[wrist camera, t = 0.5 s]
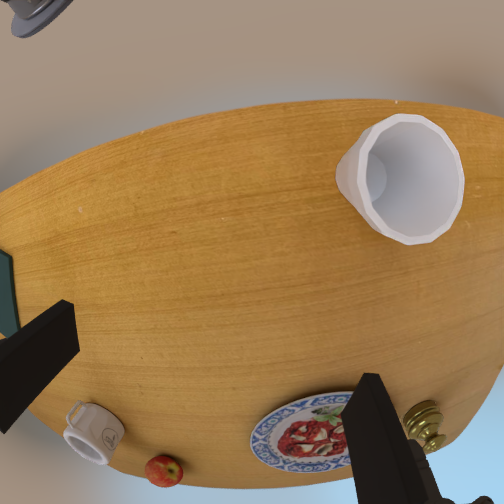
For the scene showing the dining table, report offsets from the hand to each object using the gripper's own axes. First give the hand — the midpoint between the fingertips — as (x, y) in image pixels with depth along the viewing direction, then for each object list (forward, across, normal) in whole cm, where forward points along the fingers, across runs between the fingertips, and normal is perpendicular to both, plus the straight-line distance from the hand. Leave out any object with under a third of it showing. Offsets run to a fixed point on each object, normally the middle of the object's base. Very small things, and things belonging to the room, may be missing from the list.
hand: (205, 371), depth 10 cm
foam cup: (+22, +11, +10) cm, 27 cm away
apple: (+22, -8, -52) cm, 57 cm away
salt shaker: (+22, +38, -25) cm, 50 cm away
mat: (+22, -51, -21) cm, 59 cm away
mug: (+22, -24, -43) cm, 54 cm away
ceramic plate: (+22, +20, -30) cm, 42 cm away
